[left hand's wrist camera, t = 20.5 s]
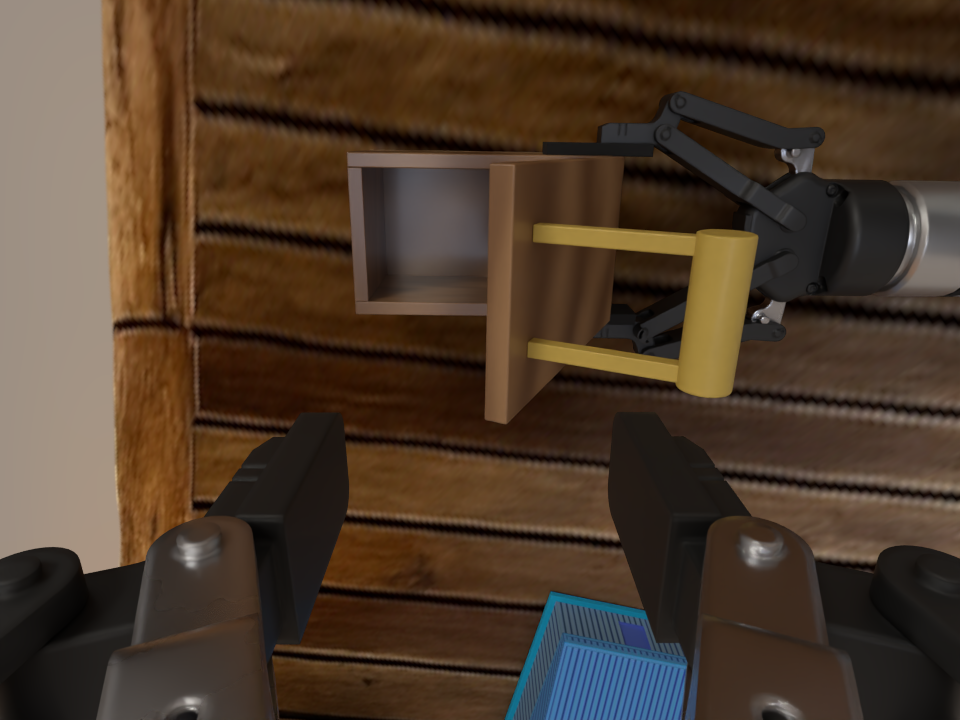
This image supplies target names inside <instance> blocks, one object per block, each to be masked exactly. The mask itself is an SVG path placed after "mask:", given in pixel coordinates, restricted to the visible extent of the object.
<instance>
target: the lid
mask: <svg viewBox="0 0 960 720" xmlns="http://www.w3.org/2000/svg"><path fill="white" fill-rule="evenodd" d="M624 160H625V158H624V157H622V156H604V157H586V158H569V159H552V160H534V161H517V162H499V163H491V164H490V175H489V226H488V278H487V330H486V382H485V420H488V421H493V422H497V423H502V424H507V423H508V422H509V421H510V420H511V419H512V418H513V417H514V416H515V415H516V414H517V413H518V412H519V411H520V410H521V409H522V408H523V407H524V406H525V405H526V404H527V403H528V402H529V401H530V400H531V399H532V398H533V397H534V396H535V395H536V394H537V393H538V392H539V391H540V390H541V389H542V388H543V387H544V386H545V385H546V384H547V383H548V382H549V381H550V380H551V379H552V378H553V377H554V376H555V375H556V374H557V373H558V372H559V371H560V370H561V369H562V368H563V367H564V366H565V365H566V364H569V365H575V366H581V367H587V368H593V369H599V370H605V371H611V372H617V373H623V374H628V375H634V376H640V377H646V378H652V379H658V380H664V381H670V382H676V386H677V387H678V388H679V389H680V390H682V391H683V392H686V393H688V394H691V395H695V396H699V397H706V398H721V397H725V396H728V395H730V394H731V392H732V389H733V383H734V377H735V371H736V366H737V360H738V354H739V348H740V342H741V337H742V331H743V325H744V319H745V313H746V308H747V302H748V296H749V290H750V284H751V279H752V273H753V267H754V261H755V255H756V250H757V244H758V235H757V234H754V233H751V232H746V231H738V230H726V229H706V230H700V231H697V233H696V234H689V233H676V232H662V231H648V230H634V229H621V228H618V225H619V214H620V203H621V193H622V182H623V171H624ZM616 250H628V251H639V252H651V253H662V254H674V255H685V256H693V259H692V266H691V273H690V281H689V288H688V295H687V303H686V310H685V317H684V325H683V332H682V339H681V347H680V354H679V360H674V359H668V358H661V357H655V356H648V355H642V354H636V353H629V352H623V351H616V350H610V349H603V348H597V347H590V346H585V345H586V344H587V343H588V342H589V341H590V340H591V339H592V338H593V337H594V336H595V335H596V334H597V333H598V332H599V331H600V330H601V329H602V328H603V327H604V326H605V325H606V324H607V323H608V322H609V321H610V312H611V301H612V290H613V279H614V268H615V258H616Z"/></svg>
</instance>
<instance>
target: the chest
mask: <svg viewBox="0 0 960 720" xmlns="http://www.w3.org/2000/svg"><path fill="white" fill-rule="evenodd" d="M542 153H543V152H483V151H419V150H366V151H353V152H347V166H348V168H347V170H348V187H349V204H350V222H351V239H352V256H353V273H354V290H355V307H356V314H379V315H449V316H487V278H488V226H489V175H490V164H491V163H499V162H517V161H534V160H552V159H569V158H586V157H604V156H593V155H545V154H542Z"/></svg>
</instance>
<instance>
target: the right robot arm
mask: <svg viewBox="0 0 960 720" xmlns="http://www.w3.org/2000/svg"><path fill="white" fill-rule="evenodd" d="M680 120H682V121H685V122H688V123H691V124H694V125H697V126H700V127H703V128H706V129H708V130H711V131H714V132H717V133H720V134H723V135H726V136H729V137H731V138H734V139H737V140H740V141H743V142H746V143H749V144H752V145H755V146H758V147H762V148H768V149H775V151H774V154H775V158H776V159H777V160H778V161H780V162H784V163H786V164H787V165H788V167H789V173H787V174H785V175H783V176H782V177H780V178H779V179H777V180H776V181H774V182H773V183H771V184H770V185H768V186H767V187H763V186H762V185H760V184H759V183H757V182H755V181H752V180H750V179H749V178H747V177H746V176H745V175H743V174H742V173H740V172H739V171H737V170H736V169H734V168H733V167H731V166H730V165H729V164H727V163H726V162H724V161H723V160H721V159H720V158H718V157H717V156H715V155H714V154H713V153H711V152H710V151H708V150H707V149H705V148H704V147H702V146H701V145H699V144H698V143H697V142H695V141H694V140H692V139H691V138H689V137H688V136H686V135H685V134H684V133H682V132H681V131H679V130H678V129H676V128H677V126H678V124H679V122H680ZM824 139H825V133H824V131H823V129H821V128H819V127H808V128H786V127H783V126H780V125H777V124H774V123H771V122H769V121H766V120H763V119H760V118H757V117H754V116H752V115H749V114H746V113H743V112H740V111H737V110H735V109H732V108H729V107H726V106H723V105H720V104H717V103H715V102H712V101H709V100H706V99H703V98H700V97H698V96H695V95H692V94H689V93H686V92H682V91H680V92H676V93H672V94H668V95H665V96H664V97H662V98H661V100H660V103H659V109H658V111H657V113H656V115H655V117H654V119H653V120H652V121H650V122H649V123H647V124H646V123H607V124H604V125H601V126H599V127H598V133H597V143H572V142H543V153H542V154H545V155H593V156H633V157H653V150H654V147H656V148H657V149H659V150H660V151H662V152H663V153H664V154H666V155H667V156H669V157H670V158H672V159H673V160H675V161H676V162H678V163H679V164H681V165H682V166H684V167H685V168H687V169H688V170H690V171H691V172H693V173H694V174H695V175H697V176H698V177H700V178H701V179H703V180H704V181H706V182H707V183H709V184H710V185H712V186H713V187H715V188H716V189H718V190H719V191H721V192H722V193H723V194H724V195H725V196H726V197H728V198H729V199H731V200H732V201H733V202H735V203H736V204H738V205H739V206H740V207H739V209H738V211H737V212H734V215H733V221H732V227H733V230H738V231H746V232H751V233H754V234H757V235H758V244H757V250H756V255H755V261H754V267H753V273H752V279H751V284H750V290H749V291H751V290H753V289H755V288H756V289H757V290H758V291H760V292H761V293H762V294H763V295H765V296H766V299H765V301H764V302H763V303H762V304H760V305H758V306H753V307H751V308H749V309H747V314H745V319H744V325H743V331H742V337H741V342H744V341H748V340H761V341H780V340H782V339H783V338H784V337H785V335H786V329H785V327H784V326H782V325H781V324H780V323H781V319H782V315H783V311H784V307H785V303H786V302H788V301H790V300H792V299H794V298H797V297H800V296H804V295H823V296H867V295H871V294H873V295H875V296H927V297H937V296H942V297H953V296H956V297H960V181H907V180H899V181H891V182H886V181H883V180H836V179H822V178H819V177H818V176H816V175H815V174H813V173H811V171H812V164H813V156H814V149H815V148H816V147H819V146H820V145H821V144H822V143H823V142H824ZM688 288H689V286H687V287H685V288H683V289H681V290H679V291H678V292H676V293H674V294H672V295H670V296H668V297H666V298H664V299H662V300H660V301H658V302H656V303H654V304H653V305H651V306H649V307H647V308H645V309H643V310H641V311H639V312H637V313H634V312H633V311H632V309H631V308H630V307H629V306H628V305H627V304H611V312H610V321H609V322H608V323H607V324H606V325H605V326H604V327H603V328H602V329H601V330H600V331H599V332H598V333H597V334H596V335H595V336H594V337H593V338H627V339H631V340H632V342H633V349H634V351H635V352H636V354H642V355H648V356H655V357H661V358H668V359H678V358H679V354H680V347H681V339H682V332H683V327H682V328H679V329H675V330H671V331H667V332H663V331H665V330H667V329H669V328H671V327H673V326H675V325H677V324H679V323H681V322H683V321H684V317H685V310H686V303H687V295H688ZM661 332H663V333H661Z"/></svg>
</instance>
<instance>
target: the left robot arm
mask: <svg viewBox="0 0 960 720" xmlns="http://www.w3.org/2000/svg"><path fill="white" fill-rule="evenodd" d="M608 499H609V507H610V512H611V515H612V518H613V521H614V524H615V527H616V530H617V533H618V535H619V538H620V541H621V544H622V547H623V550H624V553H625V555H626V558H627V561H628V564H629V567H630V570H631V573H632V575H633V578H634V581H635V584H636V587H637V590H638V593H639V595H640V598H641V601H642V604H643V607H644V610H645V613H646V615H647V618H648V621H649V624H650V627H651V630H652V633H653V635H654V638H655V641H656V643H680V645H681V647H682V650H683V652H684V655H685V657H686V660H687V668H686V674H685V682H684V692H683V701H682V711H681V720H960V559H959V558H957V557H955V556H952V555H949V554H946V553H944V552H940V551H937V550H933V549H929V548H924V547H918V546H906V545H903V546H894V547H890V548H887V549H885V550H883V551H882V552H881V553H880V555H879V557H878V560H877V564H876V567H875V571H874V574H873V573H868V572H863V571H858V570H853V569H848V568H843V567H838V566H833V565H828V564H824V563H820V562H816V561H815V560H814V555H813V552H812V550H811V548H810V547H809V545H808V544H807V543H806V542H805V541H804V540H803V539H802V538H801V537H800V536H798V535H797V534H796V533H794V532H793V531H791V530H789V529H787V528H786V527H784V526H781V525H779V524H777V523H774V522H771V521H768V520H765V519H761V518H756V517H752V516H751V514H750V513H749V512H748V510H747V509H746V508H745V506H744V505H743V503H742V502H741V501H740V499H739V498H738V496H737V495H736V494H735V492H734V491H733V490H732V488H731V487H730V485H729V484H728V483H727V481H724V477H723V476H722V474H721V473H720V472H719V470H718V469H717V468H715V465H714V463H713V462H712V460H711V459H710V458H709V456H708V455H707V454H706V452H705V451H704V449H702V448H700V447H699V446H697V445H696V444H694V443H693V442H691V441H690V440H688V439H687V438H685V437H671V435H670V434H669V432H668V431H667V429H666V427H665V426H664V424H663V423H662V421H661V420H660V418H659V417H658V415H657V414H656V413H655V412H617V413H616V414H615V417H614V422H613V431H612V443H611V455H610V467H609V478H608ZM348 500H349V479H348V467H347V456H346V444H345V433H344V423H343V418H342V415H341V414H340V413H301V414H300V415H299V417H298V418H297V420H296V421H295V423H294V424H293V426H292V427H291V429H290V430H289V432H288V433H287V435H286V436H285V437H273V438H271V439H269V440H268V441H266V442H265V443H263V444H262V445H260V446H259V447H257V448H255V449H254V450H253V451H252V452H251V453H250V455H249V456H248V457H247V459H246V460H245V461H244V463H243V464H242V468H241V469H239V470H238V471H237V472H236V474H235V475H234V477H233V478H232V481H230V482H229V483H228V485H227V486H226V487H225V489H224V490H223V492H222V493H221V494H220V496H219V497H218V498H217V500H216V501H215V502H214V504H213V505H212V507H211V508H210V509H209V511H208V512H207V513H206V515H205V516H204V518H199V519H195V520H192V521H189V522H186V523H183V524H181V525H179V526H176V527H174V528H173V529H171V530H169V531H167V532H166V533H164V534H163V535H162V536H160V537H159V538H158V539H157V540H156V541H155V542H154V543H153V544H152V545H151V547H150V548H149V550H148V552H147V555H146V560H145V561H143V562H139V563H136V564H132V565H127V566H122V567H117V568H112V569H108V570H103V571H98V572H93V573H88V574H83V570H82V566H81V563H80V559H79V557H78V555H77V554H76V553H75V552H73V551H71V550H69V549H65V548H59V547H45V548H37V549H32V550H27V551H23V552H20V553H16V554H13V555H10V556H8V557H5V558H2V559H0V720H279V711H278V701H277V692H276V682H275V674H274V668H273V661H272V652H273V650H274V647H275V645H276V644H300V642H301V639H302V636H303V633H304V631H305V628H306V625H307V622H308V619H309V617H310V614H311V611H312V608H313V605H314V603H315V600H316V597H317V594H318V591H319V589H320V586H321V583H322V580H323V577H324V575H325V572H326V569H327V566H328V563H329V561H330V558H331V555H332V552H333V549H334V547H335V544H336V541H337V538H338V535H339V533H340V530H341V527H342V524H343V522H344V519H345V516H346V512H347V507H348Z"/></svg>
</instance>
